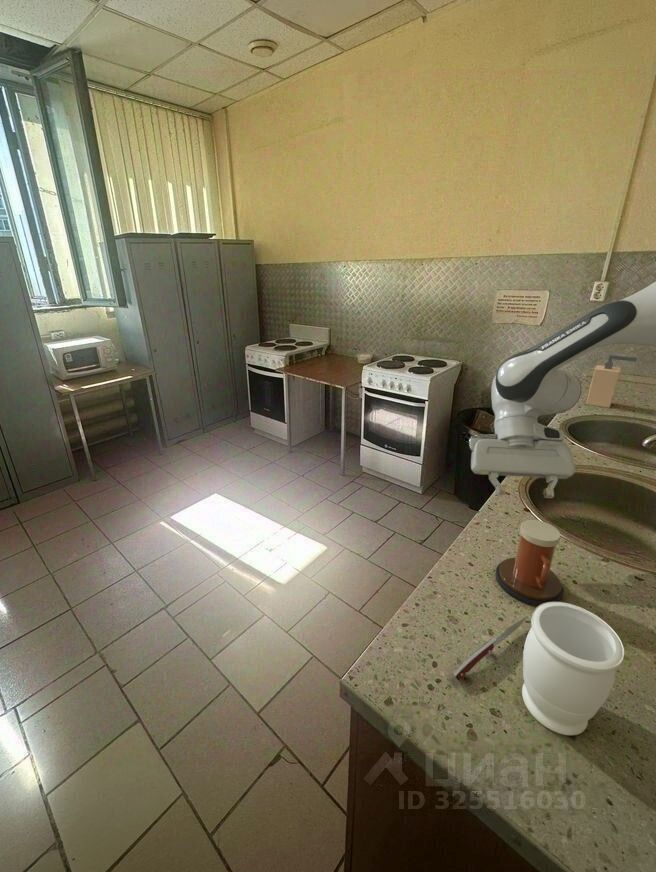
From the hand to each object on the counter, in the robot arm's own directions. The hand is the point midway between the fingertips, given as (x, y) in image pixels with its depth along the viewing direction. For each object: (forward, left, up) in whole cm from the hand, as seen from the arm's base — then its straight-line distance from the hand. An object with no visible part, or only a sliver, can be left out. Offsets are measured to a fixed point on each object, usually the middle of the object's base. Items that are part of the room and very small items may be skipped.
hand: (524, 496), depth 84 cm
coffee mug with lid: (0, +9, -14) cm, 17 cm away
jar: (+5, +34, -15) cm, 38 cm away
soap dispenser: (-72, -108, -15) cm, 131 cm away
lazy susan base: (0, +9, -15) cm, 18 cm away
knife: (+11, +26, -15) cm, 33 cm away
